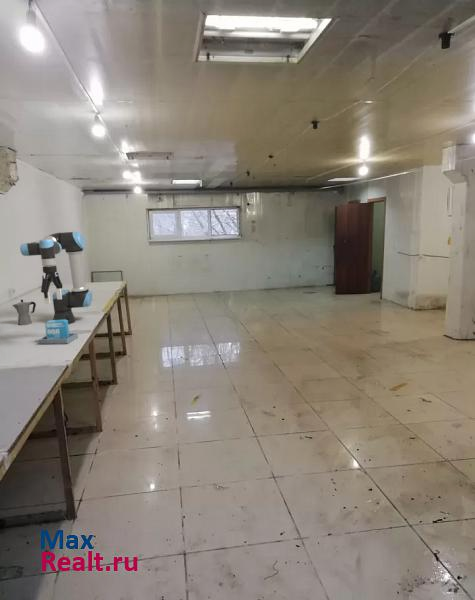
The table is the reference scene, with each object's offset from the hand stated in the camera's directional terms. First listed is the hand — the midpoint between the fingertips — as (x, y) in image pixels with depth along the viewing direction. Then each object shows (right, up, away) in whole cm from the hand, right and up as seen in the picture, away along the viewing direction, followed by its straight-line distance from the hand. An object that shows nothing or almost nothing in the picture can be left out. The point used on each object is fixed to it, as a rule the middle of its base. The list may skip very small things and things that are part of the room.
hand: (53, 301), depth 252 cm
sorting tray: (+1, -24, +4) cm, 25 cm away
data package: (+1, -24, +4) cm, 24 cm away
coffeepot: (-45, -17, +58) cm, 76 cm away
